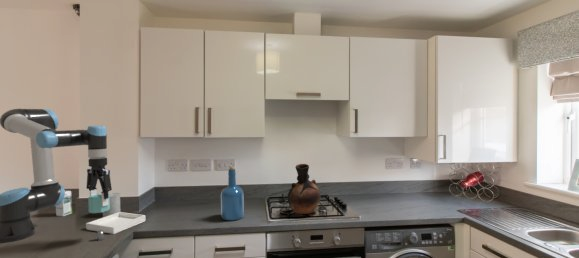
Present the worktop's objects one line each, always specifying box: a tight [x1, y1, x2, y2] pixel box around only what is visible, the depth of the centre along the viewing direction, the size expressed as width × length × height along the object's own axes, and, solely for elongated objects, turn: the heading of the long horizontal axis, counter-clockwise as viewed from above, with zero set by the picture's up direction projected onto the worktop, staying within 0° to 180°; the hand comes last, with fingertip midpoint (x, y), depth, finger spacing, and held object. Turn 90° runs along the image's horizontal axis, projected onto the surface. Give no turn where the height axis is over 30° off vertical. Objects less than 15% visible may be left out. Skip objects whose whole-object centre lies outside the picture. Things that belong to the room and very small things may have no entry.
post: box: [96, 230, 104, 241], centre depth 140 cm, size 2×2×4 cm
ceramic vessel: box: [286, 163, 322, 215], centre depth 175 cm, size 21×18×30 cm
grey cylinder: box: [102, 192, 121, 218], centre depth 177 cm, size 10×10×12 cm
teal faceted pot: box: [87, 193, 110, 214], centre depth 139 cm, size 8×8×7 cm
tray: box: [85, 211, 146, 235], centre depth 159 cm, size 20×20×3 cm
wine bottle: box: [220, 166, 245, 221], centre depth 169 cm, size 14×13×30 cm
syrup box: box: [55, 190, 73, 217], centre depth 178 cm, size 6×6×14 cm
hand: (99, 204), depth 139 cm, fingers closed on teal faceted pot, 8 cm apart
